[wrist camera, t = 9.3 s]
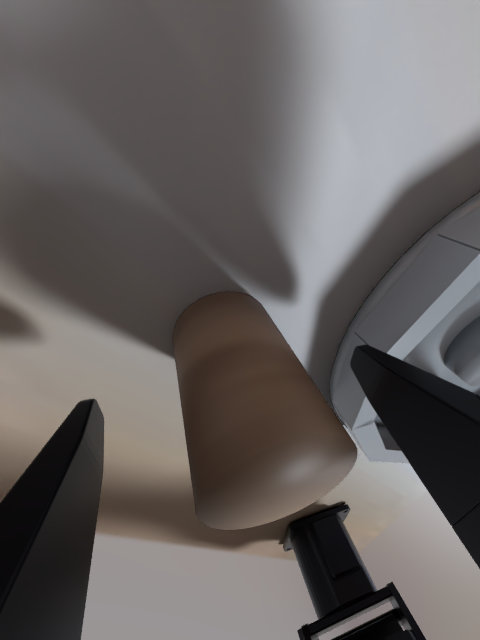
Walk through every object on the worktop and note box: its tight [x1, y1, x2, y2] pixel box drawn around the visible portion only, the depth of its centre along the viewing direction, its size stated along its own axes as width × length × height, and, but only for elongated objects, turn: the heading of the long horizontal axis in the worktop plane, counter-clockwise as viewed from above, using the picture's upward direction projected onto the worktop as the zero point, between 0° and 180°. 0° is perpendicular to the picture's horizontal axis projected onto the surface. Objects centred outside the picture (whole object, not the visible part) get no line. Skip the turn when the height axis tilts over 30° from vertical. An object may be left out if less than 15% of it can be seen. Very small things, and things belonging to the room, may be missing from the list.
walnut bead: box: [173, 291, 357, 530], centre depth 9 cm, size 4×4×6 cm
